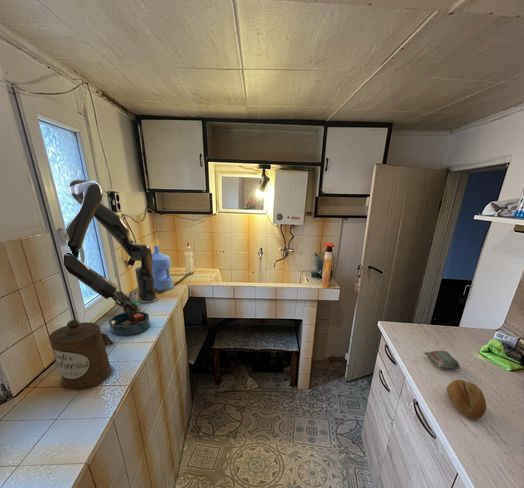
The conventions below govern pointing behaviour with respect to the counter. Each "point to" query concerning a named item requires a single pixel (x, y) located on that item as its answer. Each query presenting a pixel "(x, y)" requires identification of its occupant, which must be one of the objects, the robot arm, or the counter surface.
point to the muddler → (131, 315)
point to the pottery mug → (106, 339)
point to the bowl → (130, 329)
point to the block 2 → (138, 318)
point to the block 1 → (127, 323)
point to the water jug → (161, 270)
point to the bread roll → (467, 398)
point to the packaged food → (443, 359)
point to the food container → (132, 299)
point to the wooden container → (80, 354)
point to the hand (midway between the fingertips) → (136, 309)
